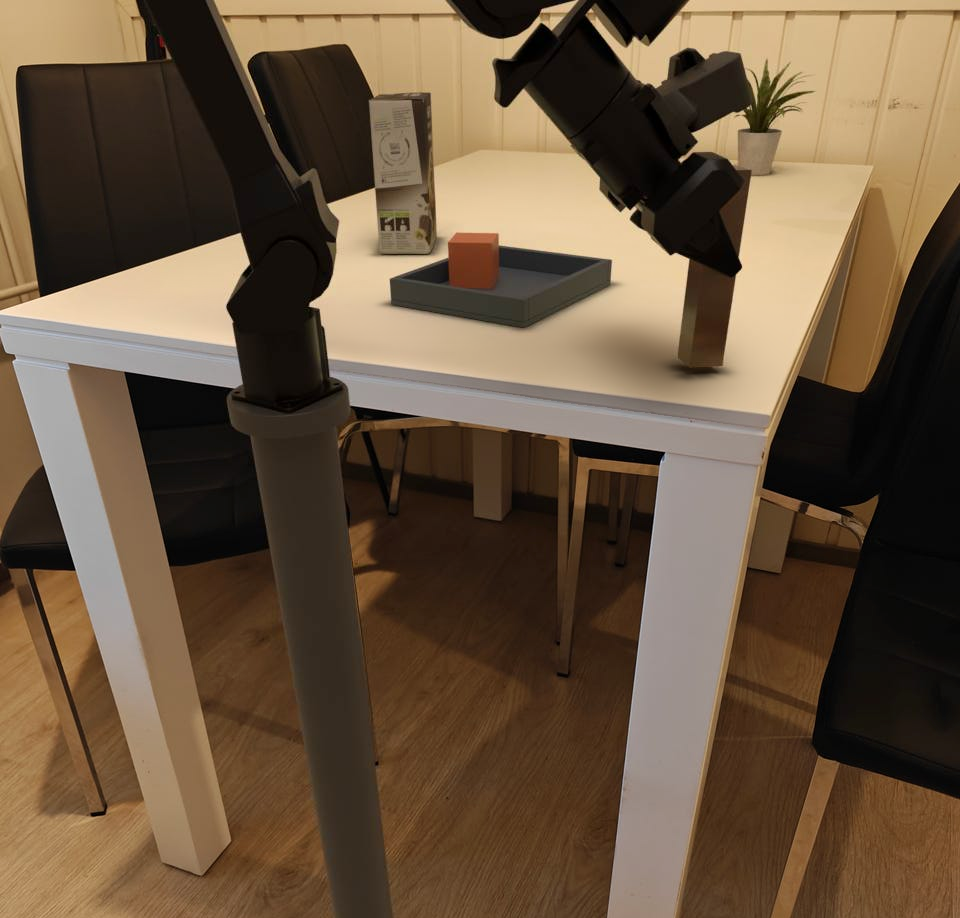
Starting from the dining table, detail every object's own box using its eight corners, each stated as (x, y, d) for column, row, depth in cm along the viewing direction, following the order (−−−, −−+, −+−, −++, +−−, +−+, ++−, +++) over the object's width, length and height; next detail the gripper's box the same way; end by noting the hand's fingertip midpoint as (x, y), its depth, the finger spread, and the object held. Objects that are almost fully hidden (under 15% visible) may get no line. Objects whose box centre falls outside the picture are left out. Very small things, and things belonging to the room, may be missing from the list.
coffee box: (431, 254, 108) (424, 97, 99) (378, 255, 109) (366, 98, 99) (438, 238, 116) (432, 90, 106) (388, 238, 116) (378, 91, 107)
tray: (524, 327, 84) (524, 299, 82) (391, 304, 91) (389, 278, 89) (610, 284, 96) (612, 259, 94) (487, 267, 103) (486, 243, 101)
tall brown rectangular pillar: (689, 367, 72) (714, 170, 64) (677, 357, 74) (700, 165, 66) (722, 366, 72) (752, 169, 65) (709, 355, 75) (736, 165, 67)
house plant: (758, 184, 144) (776, 62, 134) (691, 174, 153) (703, 59, 143) (812, 173, 151) (833, 57, 141) (745, 164, 160) (761, 54, 150)
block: (492, 289, 93) (491, 242, 90) (449, 288, 94) (447, 241, 91) (499, 278, 97) (498, 233, 94) (457, 277, 97) (456, 232, 95)
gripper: (733, 2, 52) (873, 206, 59) (652, 1, 67) (772, 164, 74) (590, 161, 56) (737, 334, 63) (544, 126, 71) (667, 269, 78)
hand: (730, 267), depth 69 cm, fingers closed on tall brown rectangular pillar, 3 cm apart
